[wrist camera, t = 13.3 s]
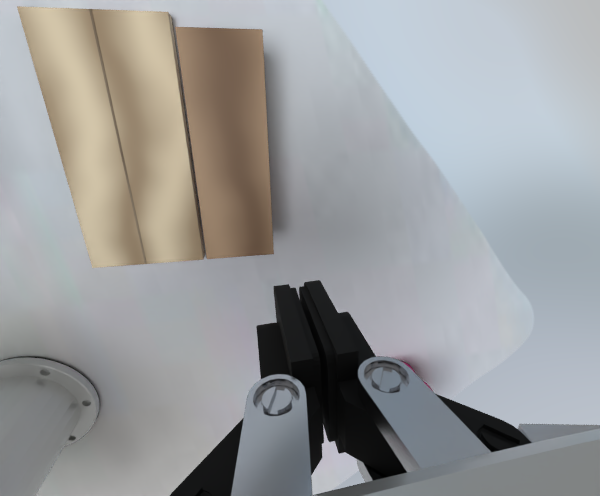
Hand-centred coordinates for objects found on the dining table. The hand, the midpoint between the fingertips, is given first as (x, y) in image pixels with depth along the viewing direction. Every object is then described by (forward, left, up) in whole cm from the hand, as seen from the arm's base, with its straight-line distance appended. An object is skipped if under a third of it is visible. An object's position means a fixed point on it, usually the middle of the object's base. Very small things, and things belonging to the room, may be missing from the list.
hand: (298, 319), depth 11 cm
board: (-9, +5, -21) cm, 23 cm away
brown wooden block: (-3, +5, -21) cm, 21 cm away
